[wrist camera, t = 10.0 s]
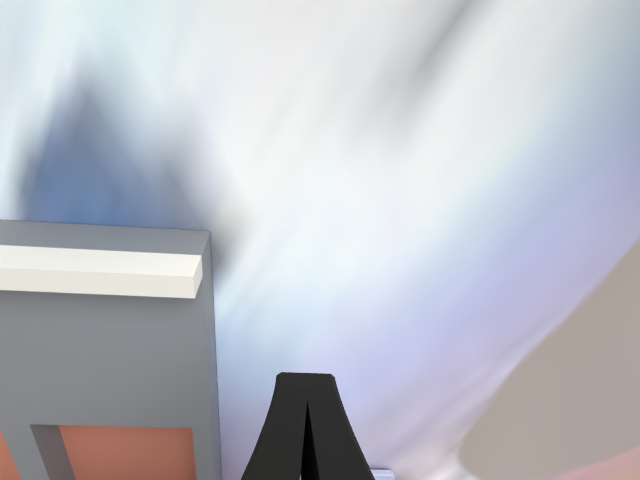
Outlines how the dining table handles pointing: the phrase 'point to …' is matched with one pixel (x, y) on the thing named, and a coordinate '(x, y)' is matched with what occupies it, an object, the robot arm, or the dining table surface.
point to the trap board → (107, 353)
